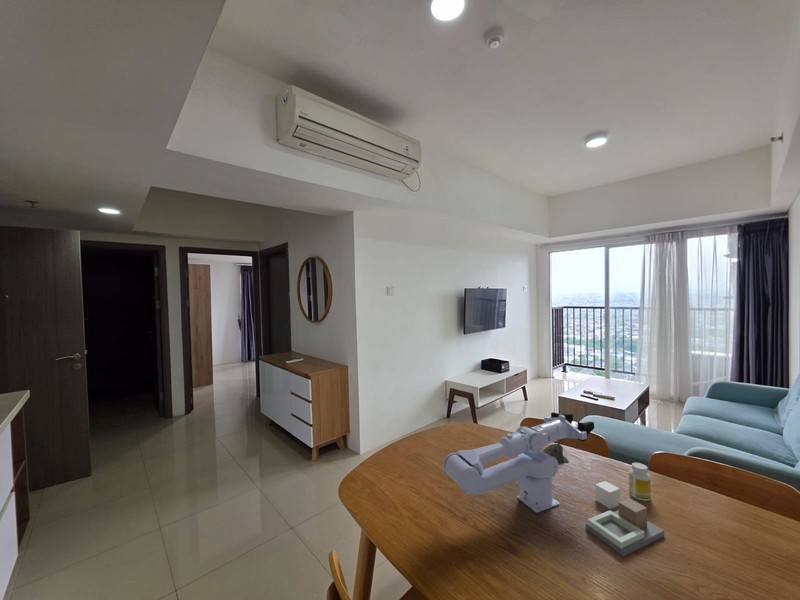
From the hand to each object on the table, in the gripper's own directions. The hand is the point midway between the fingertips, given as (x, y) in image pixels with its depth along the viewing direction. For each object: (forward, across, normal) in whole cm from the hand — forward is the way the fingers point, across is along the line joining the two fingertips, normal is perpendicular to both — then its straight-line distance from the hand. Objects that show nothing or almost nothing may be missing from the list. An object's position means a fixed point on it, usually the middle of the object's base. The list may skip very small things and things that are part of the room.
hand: (582, 421), depth 105 cm
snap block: (-3, -9, +22) cm, 23 cm away
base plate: (-11, -19, +21) cm, 30 cm away
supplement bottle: (+9, -11, +23) cm, 27 cm away
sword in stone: (+4, +17, +22) cm, 29 cm away
